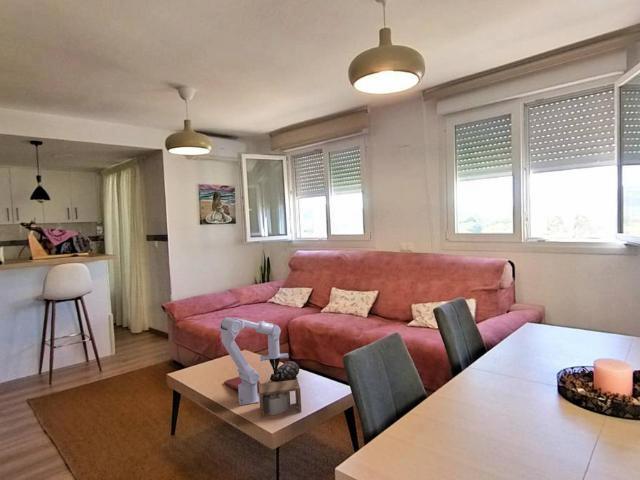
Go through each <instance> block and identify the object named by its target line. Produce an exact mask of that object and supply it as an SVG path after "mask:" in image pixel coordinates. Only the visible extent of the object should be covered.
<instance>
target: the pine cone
mask: <svg viewBox="0 0 640 480" xmlns="http://www.w3.org/2000/svg"><path fill="white" fill-rule="evenodd" d="M299 373H300V366H299V365H298V364H297V363H296V361H295V362H294V361H291V360H287V361H285V362H283V364H281V365H280V366H278V368H277V373H274V372H273V373H271V375H270V378H269V380H270V381H271V382H272V383H273V382H281V381H289V380H298V377H297V376H298V375H299Z"/></svg>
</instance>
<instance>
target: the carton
mask: <svg viewBox="0 0 640 480" xmlns="http://www.w3.org/2000/svg"><path fill="white" fill-rule="evenodd" d="M241 383H242V380H241V379H240V377H239V376H236V377H234V378H230V379H229V378H228V379H227V380H225V381H223V384H224V385H225V386H228V387H230V388H233V389H235V390H238V384H241ZM259 384H261V381H260V379H259V380H258V382H257V394H259Z"/></svg>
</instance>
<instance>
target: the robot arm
mask: <svg viewBox="0 0 640 480" xmlns="http://www.w3.org/2000/svg"><path fill="white" fill-rule="evenodd" d="M244 328H247V329H252V330H253V329H254V331H255V332H256V333H258V334H262V335H263V334H264V335H267V344H268V345H267V346H268V347H267V348H268V354H266V355H265V354H264V355H261V356H260V358H259V359H260V360H259V361H260V362H263V361H269V363H270V365H271V367H272V370H273V374H274V373H277V369H278V368H279V364H280V362H281V359H289V353H286V352H285V353H280V351H281V350H280V335H281V332H282V329H281V327H280V326H279V325H277V324H273V323H272V322H266V321H265V320H259V321H257V322H254V321H251V320H250V321H249V320H246V319H244V318H238V317H229V316H227V317H226V316H225V317H223V319H222V320H221V322H220V324H219V330H220V334H221V335H220V336H221V343H222V344H223V346H224V348H225V349H226V351H227V353H228V354H229V356H230V357H231V359H232V361H233V362H234V364H235V366H236V367H237V373H238V377H240V379H241V380H242V383H241V384H238V395H237V398H238V405H239V406H242V405H243V406H244V405H249V404H257V403H260V397H259V393H257V382H258V380H259V381H260V374H259V372H258V371H256V370H255V369H254V368H253V367H252V366H251V365H250V364H249V362H248V361H247V359H246V357H245V356H244V354H243V352H242V351H241V349H240V347H239V346H238V344H237V343H236V341H235V339H236V338H237V336H238V335H239V333H240V332H241V331H242V330H243V329H244Z"/></svg>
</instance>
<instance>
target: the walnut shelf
mask: <svg viewBox="0 0 640 480" xmlns="http://www.w3.org/2000/svg"><path fill="white" fill-rule="evenodd" d="M289 391H290V392H295V393H294V394H295V405H296V408H297V411H298V413H299V414H300V413H302V400H301V399H302V395H301V393H302V392H301V386H300V384H299V381H298V379H296V380H289V381H281V382H273V381H272V382H267V383H260V384H259V393H258V397H259V409H260V410H259V411H260V418H261V419H264V418H265V411H264V410H263V395H266V394H274V393H281V392H289Z"/></svg>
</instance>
